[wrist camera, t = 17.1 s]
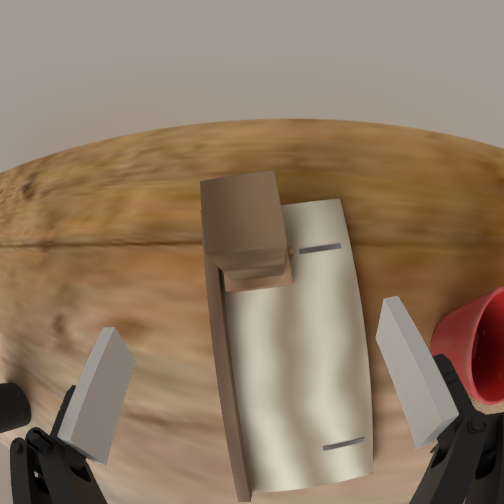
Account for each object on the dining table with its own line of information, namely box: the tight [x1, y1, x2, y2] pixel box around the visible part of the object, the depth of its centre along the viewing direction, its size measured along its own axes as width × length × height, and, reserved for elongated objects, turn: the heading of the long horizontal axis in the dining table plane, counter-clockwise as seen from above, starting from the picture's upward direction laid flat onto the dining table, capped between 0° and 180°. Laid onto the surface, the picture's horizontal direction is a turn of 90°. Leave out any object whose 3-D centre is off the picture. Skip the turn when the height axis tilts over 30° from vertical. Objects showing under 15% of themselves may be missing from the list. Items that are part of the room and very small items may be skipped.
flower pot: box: [431, 286, 504, 405], centre depth 20 cm, size 11×11×10 cm
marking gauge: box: [200, 170, 294, 293], centre depth 21 cm, size 7×6×12 cm
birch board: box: [201, 198, 373, 502], centre depth 25 cm, size 14×30×4 cm, turn 7°
